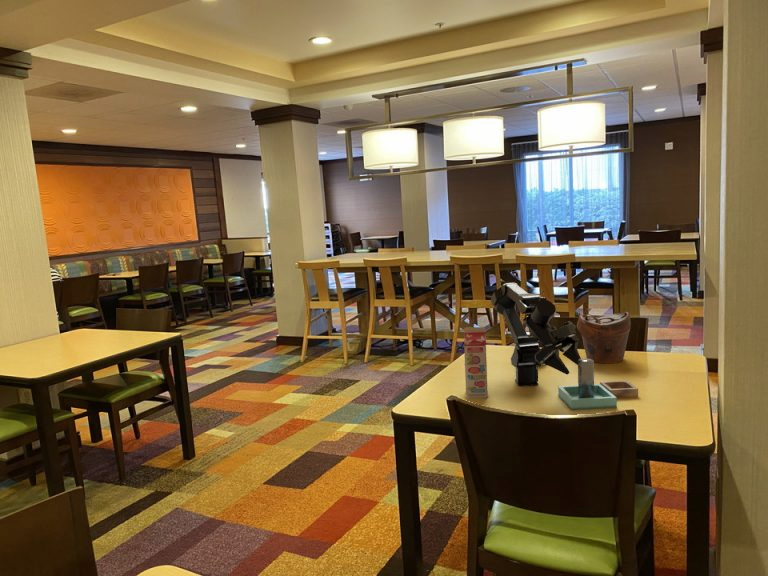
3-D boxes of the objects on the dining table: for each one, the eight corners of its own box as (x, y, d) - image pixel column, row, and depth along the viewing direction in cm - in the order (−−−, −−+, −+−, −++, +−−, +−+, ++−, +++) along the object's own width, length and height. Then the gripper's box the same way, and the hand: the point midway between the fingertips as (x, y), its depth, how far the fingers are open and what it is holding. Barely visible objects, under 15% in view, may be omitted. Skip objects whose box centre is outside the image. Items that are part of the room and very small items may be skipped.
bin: (571, 410, 170) (571, 400, 170) (558, 395, 183) (558, 386, 183) (616, 407, 170) (616, 397, 170) (600, 393, 183) (600, 384, 183)
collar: (610, 398, 179) (610, 390, 178) (599, 389, 187) (599, 381, 187) (638, 396, 178) (638, 388, 178) (626, 388, 187) (626, 380, 187)
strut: (579, 401, 175) (578, 362, 174) (577, 396, 180) (577, 358, 178) (595, 401, 174) (594, 362, 172) (593, 397, 178) (592, 358, 177)
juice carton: (466, 391, 193) (464, 325, 190) (487, 391, 192) (485, 325, 189) (466, 397, 186) (463, 329, 183) (487, 397, 185) (485, 329, 182)
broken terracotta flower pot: (566, 357, 226) (566, 311, 223) (606, 350, 233) (607, 306, 231) (599, 369, 210) (600, 319, 207) (642, 361, 217) (643, 313, 214)
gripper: (543, 319, 173) (579, 361, 167) (573, 309, 186) (607, 347, 180) (520, 342, 180) (554, 383, 173) (550, 330, 193) (582, 368, 187)
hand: (575, 370), depth 178 cm, fingers open, 9 cm apart
